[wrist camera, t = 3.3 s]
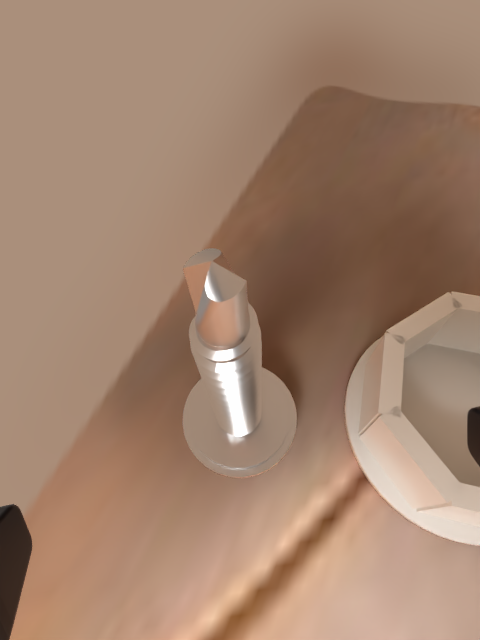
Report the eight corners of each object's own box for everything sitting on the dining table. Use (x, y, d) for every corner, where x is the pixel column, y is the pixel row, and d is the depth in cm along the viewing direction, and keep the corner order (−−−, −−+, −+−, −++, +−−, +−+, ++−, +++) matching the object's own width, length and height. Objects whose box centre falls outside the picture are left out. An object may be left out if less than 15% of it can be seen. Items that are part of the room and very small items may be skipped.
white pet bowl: (559, 346, 20) (622, 306, 17) (590, 577, 16) (686, 588, 12) (356, 309, 22) (374, 265, 18) (330, 509, 17) (349, 502, 14)
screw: (281, 496, 17) (176, 466, 18) (302, 391, 20) (207, 369, 20) (320, 418, 6) (33, 347, 7) (360, 188, 8) (139, 154, 9)
